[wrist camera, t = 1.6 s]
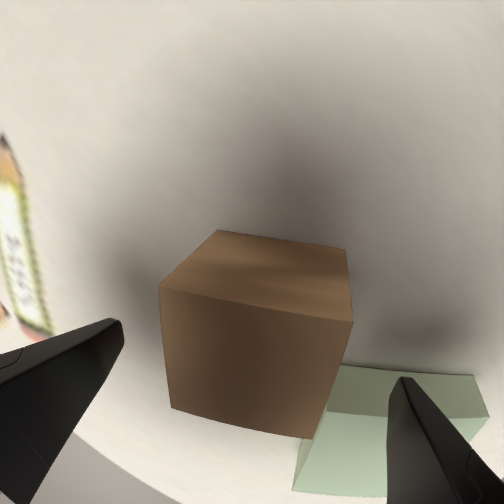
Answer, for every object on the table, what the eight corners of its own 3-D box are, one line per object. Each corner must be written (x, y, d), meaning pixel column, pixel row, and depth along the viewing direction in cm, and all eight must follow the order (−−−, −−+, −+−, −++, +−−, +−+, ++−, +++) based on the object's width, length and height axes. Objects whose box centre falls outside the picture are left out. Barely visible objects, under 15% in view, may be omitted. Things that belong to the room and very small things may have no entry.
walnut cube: (344, 248, 12) (353, 322, 7) (320, 351, 14) (312, 439, 9) (217, 229, 13) (158, 285, 8) (214, 331, 14) (171, 407, 10)
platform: (473, 375, 12) (489, 416, 9) (414, 459, 15) (417, 495, 13) (329, 362, 14) (326, 411, 11) (298, 452, 17) (291, 491, 14)
